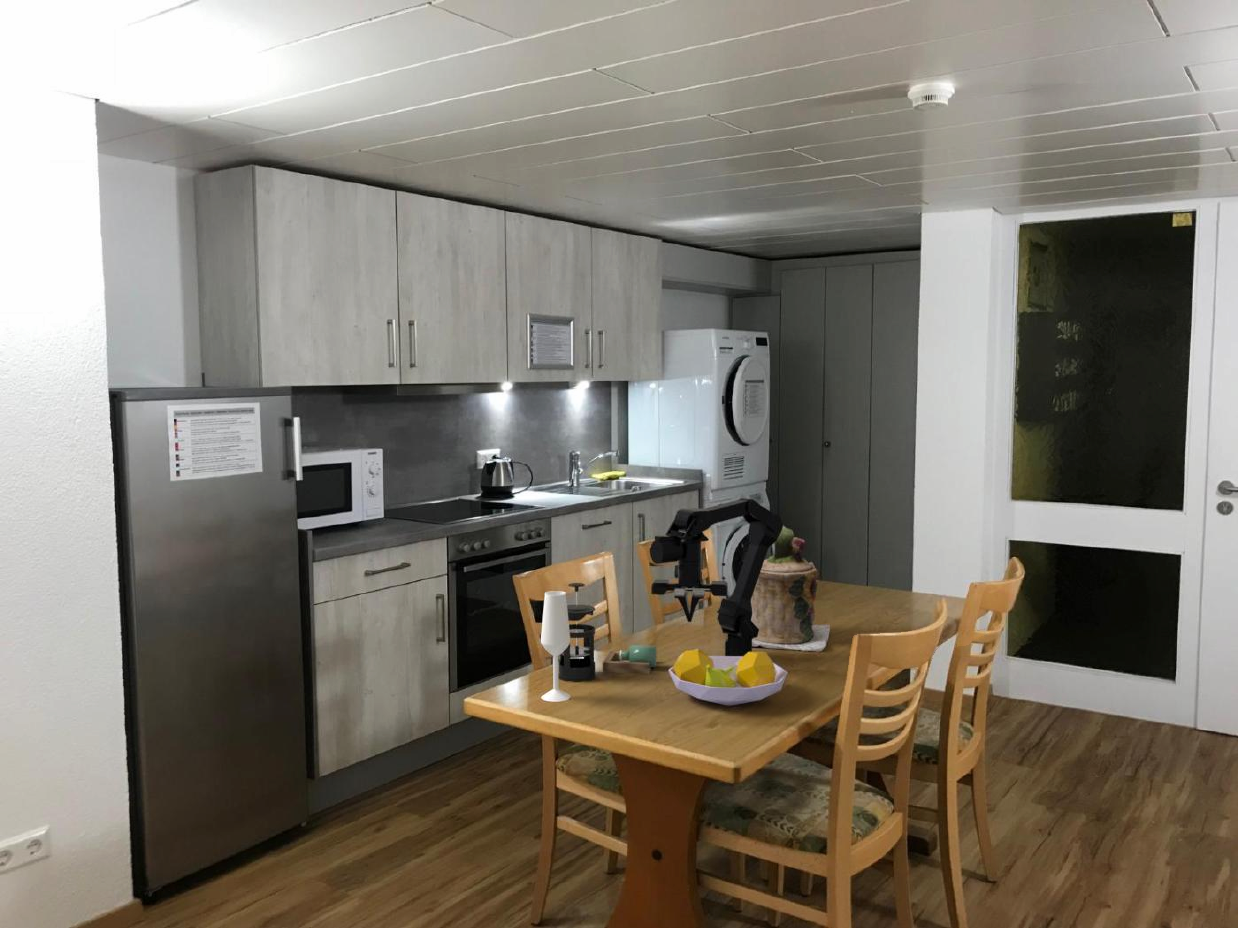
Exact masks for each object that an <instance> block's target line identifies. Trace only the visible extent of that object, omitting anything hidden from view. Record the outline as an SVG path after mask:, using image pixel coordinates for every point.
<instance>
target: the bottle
mask: <svg viewBox="0 0 1238 928" xmlns="http://www.w3.org/2000/svg"><path fill="white" fill-rule="evenodd" d="M619 651H620V661H622V660H629V662H640V663H650V667H652V668H656V667H657V659H658V657H657V656H658V655H657V653H658V651H657V646H656V645H637V644H636V645H630V646H629V651H627V650H621V649H620V650H619Z"/></svg>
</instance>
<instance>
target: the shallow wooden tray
mask: <svg viewBox="0 0 1238 928" xmlns="http://www.w3.org/2000/svg"><path fill="white" fill-rule="evenodd" d="M652 668H653V667H650V663H640V662H629V660H622V661H620V650H618V651H614V650H610V651H609V652H608V653H607V656H606V657H605V659H604V660H603V661H602V673H612V674H613V673H614V674H635V673H641V675H650V673H651V670H652Z"/></svg>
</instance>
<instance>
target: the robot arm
mask: <svg viewBox="0 0 1238 928" xmlns="http://www.w3.org/2000/svg"><path fill="white" fill-rule="evenodd" d="M740 517H742V518H743V520H744V521H745V522H746V523H747V524H749V526H748V537H749V538H748V539H749V544H748V549H747V551H746V554H745V557H744V560H743V563H742V566H741V568H740V571H739V575H738V578H737V580H736V583H735V587H734V589H733V591H732V594H731V595H730V596H729V597H728V598H725V597H727V596H728V591H729V587H728V585H729V583H728V582H727V581H725V580H711V584H710V583H703V571H702V542H709V537H708V536H706V535H705V534H704V532H705V531H707V530H708V529H709V528H711V527H712V526H713V525H715V524H718V523H722V522H726V521H729V520H733V519H738V518H740ZM783 525H784V522H783V521H782V517H781V516H780V515H779V514H776V513H773V512H772V511H771V510H769V509H767V508H766V507H764V506H763V505H761V504H760V503H759V502H758V501H756V500H755V499H753V498H747V497H741V498H739V499H736V500H732V501H728V502H725V503H721V504H716V505H713V506H710V507H706V508H681V509H678V510H677V511H676V514H675V516H674V519H673V521H672V522H671V524H670V526H669V528H668V529H667V531H666V533H665V535H655V536H654V540H653V542H652V543H651V544H650V547H649V556H650V557H649V558H650V559H651V560H652V562H653V563H654V564H656V565H660V564H667V563H677V564H678V565H677V564H676V565H674V571H673V572H674V574H673V575H674V579H678V580H677V582H678V583H676V582H674V583H672V582H670V580H669V579H654V581H653V582H652V583H651V595H665V594H666V593H667V592H670V591H671V592H673V593H674V599H678V600H679V603H680V606H681V607H682V610H683V612H684V615H685V618H686V621H687V623H692V620H693V618H694V615H695V614H694V613H695V611H696V607H697V606H698V603H699V601H700V600H703V599H705V596H706V592H707V593H710V594H711V595H712V596H713V597H723V598H721V601H720V606H719V608H718V609H717V611H716V613H717V614H718V615H717V622H718V624H719V626H720V628H721V630H722V631H721V632H722V633H723V634H726V635H727V638H726V639H725V641H724V643H725V645H724V656H744V655H746V654H747V653H748V652H753V647H752V639H753V638H756V637H757V636H758V632H759V629H758V628H757V627H756V625H755V624H754V623H753V622H752V621H751V618H752V613H753V612H752V606H751V598H752V595H753V592H754V589H755V586H756V583H757V581H758V578H759V575H760V572H761V569H762V566H763V563H764V560H766V557H767V553H768V551H769V548H771V547H772V545H775V544H774V543H775V542H776V541H777V539H778V537H779V535H780V533H781V531H782V529H783ZM688 592H692V595H691V599H690V605H689V593H688Z"/></svg>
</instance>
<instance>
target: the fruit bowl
mask: <svg viewBox="0 0 1238 928" xmlns="http://www.w3.org/2000/svg"><path fill="white" fill-rule="evenodd" d="M668 673H669V675H670V677H671V679H672V681H673V683H674V685H675V687H676V689H678V690H679V691H682V692H683V693H686V694H688V695H690V696H692V697H694V698H696V699H698V700H702V701H706V702H711V703H715V704H718V705H723V706H728V707H731V706H736V705H741V704H747V703H751V702H758V701H761V700H763V699H765V698H768V697H769V696H771V695H773V694H775V693H778V692H780V691H781V689H782V687H783V685H784V682H785V679H786V677H787V676H788V673H789V672H788V671H787V670H786V669H784V668H783V667H781V666H779V665H777V664H776V663H775V662H773V660H772V658H771V657H770V656H769V655H768V653H766V651H752V652H748V653H747V654H746V655H744V656H725V655H707V654H706V653H705V652H704V651H703V650H701V649H700V648H695V649H689V650H685V651H683V652H682V653H681V654H680V655H678V657H677V659H676V661H675V663H674V665H673V666H672V667H670V668H669V669H668Z"/></svg>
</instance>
